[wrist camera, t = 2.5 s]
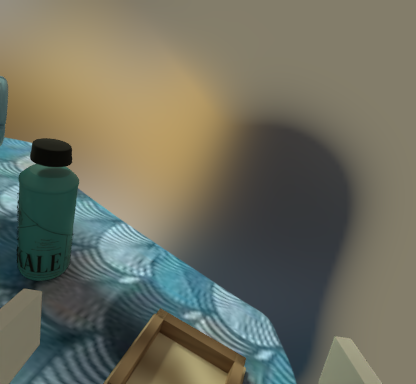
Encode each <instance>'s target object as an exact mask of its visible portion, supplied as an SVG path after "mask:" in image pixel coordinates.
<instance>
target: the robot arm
mask: <svg viewBox="0 0 416 384" xmlns="http://www.w3.org/2000/svg"><path fill="white" fill-rule="evenodd" d="M7 103H8V84H7V81H6V79H5V78H4V77H2V76H0V146H1V145H2V143H3V139H4V133H5V123H6V116H7ZM41 304H42V291H37V290H31V289H23V290H22V291H20V292H19V293H18V294H17V295H16V296H15V297H13V298H12V299H11V300H10V301H9V302H8V303H7V304H5V305H4V306H3V307H2V308H1V309H0V384H9V383H10V382H11V380H12V379H13V378H14V377H15V375H16V374H17V373H18V371H19V370H20V369H21V368H22V366H23V365H24V364H25V362H26V361H27V360H28V359H29V357H30V356H31V355H32V353H33V352H34V351H35V350H36V348H37V347H38V346H39V344H40V326H41ZM318 384H382V383H381V381H380V380H379V378H378V377H377V375H376V374H375V373H374V371H373V370H372V368H371V367H370V365H369V364H368V363H367V361H366V360H365V358H364V357H363V355H362V354H361V353H360V351H359V350H358V348H357V347H356V345H355V344H354V343H353V341H352V340H351V339H349V338H342V337H336V336H335V337H334V340H333V343H332V346H331V348H330V351H329V354H328V357H327V360H326V362H325V365H324V368H323V371H322V374H321V377H320V379H319V383H318Z"/></svg>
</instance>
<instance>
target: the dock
mask: <svg viewBox="0 0 416 384" xmlns="http://www.w3.org/2000/svg"><path fill="white" fill-rule="evenodd" d="M245 360H246V358H245V357H243V356H241V355H240V354H238V353H236V352H234V351H233V350H231V349H229V348H228V347H226V346H224V345H222V344H221V343H219V342H217V341H216V340H214V339H212V338H210V337H209V336H207V335H205V334H203V333H202V332H200V331H198V330H197V329H195V328H193V327H191V326H190V325H188V324H186V323H185V322H183V321H181V320H179V319H178V318H176V317H174V316H173V315H171V314H169V313H167V312H166V311H164V310H162V309H161V308H160V310H159V311H158V312H157V314H154V315H153V316H152V318H151V319H150V320H149V322H148V323H147V324H146V326H145V327H144V329H143V330H142V331H141V333H140V334H139V335H138V337H137V338H136V339H135V341H134V342H133V344H132V345H131V346H130V348H129V349H128V350H127V352H126V353H125V355H124V356H123V357H122V359H121V360H120V361H119V363H118V364H117V365H116V367H115V368H114V370H113V371H112V372H111V374H110V375H109V376H108V378H107V379H106V380H105V382H104V383H103V384H242V383H243V379H244V374H245V370H246V368H245V367H244V364H245Z"/></svg>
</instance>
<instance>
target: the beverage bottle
mask: <svg viewBox="0 0 416 384" xmlns="http://www.w3.org/2000/svg"><path fill="white" fill-rule="evenodd" d="M30 159H31V160H32V161H33V162H34V163H36V164H35V165H32V166H30V167H28V168H27V169H25V170H24V171H22V172H21V173H20V175H19V193H17V194H19V200H18V205H19V208H18V206H17V212H18V214H19V217H18V218H19V219H18V221H19V227H18V228H19V229H18V230H19V231H17V232H19V234H18V237H17V238H18V239H17V240H18V245H17V263H18V268H19V270H20V273H21V274H22V275H23V276H24V277H26V278H28V279H31V280H49V279H52V278H55V277H57V276H59V275H61V274H62V273H63V272H64V271H65V270H66V269H67V267H68V265H70V264H69V262H70V256H71V255H70V253H71V246H72V245H71V244H72V235H73V223H74V215H75V207H76V198H77V190H78V185H79V179H78V177H77V176H76V175H75V174H74V173H73V172H72V171H71V170H70V169H68V168H67V167H65V166H68V165H70V164H71V163H72V148H71V146H70V145H69V144H68V143H66V142H63V141H60V140H56V139H47V138H46V139H37V140H35V141H33V143H32V150H31V154H30ZM17 198H18V197H17ZM17 216H18V215H17ZM17 223H18V222H17ZM73 237H74V236H73ZM71 254H72V253H71Z"/></svg>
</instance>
